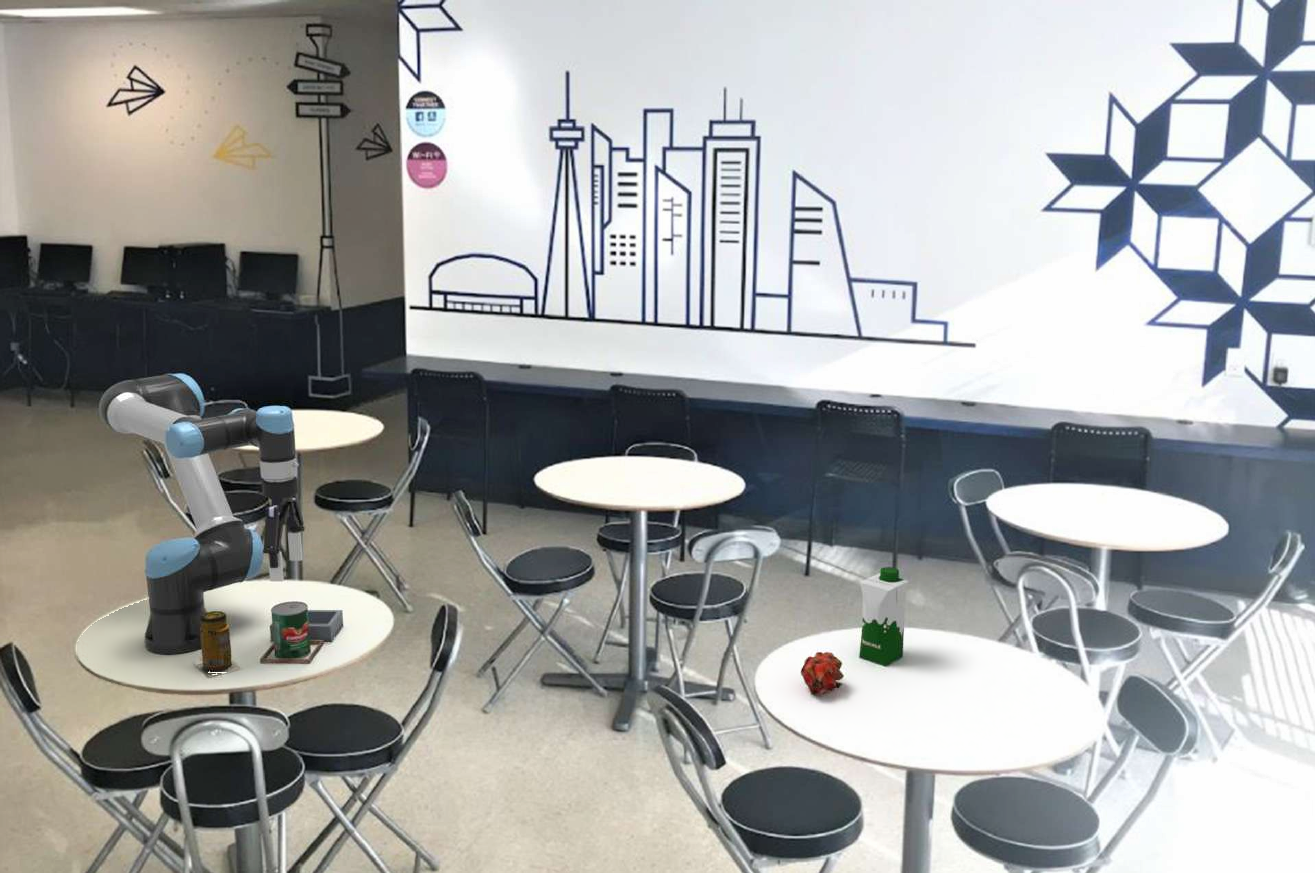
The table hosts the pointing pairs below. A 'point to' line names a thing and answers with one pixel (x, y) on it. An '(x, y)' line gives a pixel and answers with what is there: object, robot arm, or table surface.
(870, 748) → the table surface
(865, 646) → the milk carton
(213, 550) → the robot arm
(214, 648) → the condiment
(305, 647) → the canned tomato
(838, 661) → the dragon fruit
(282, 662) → the wooden picture frame
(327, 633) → the bin
